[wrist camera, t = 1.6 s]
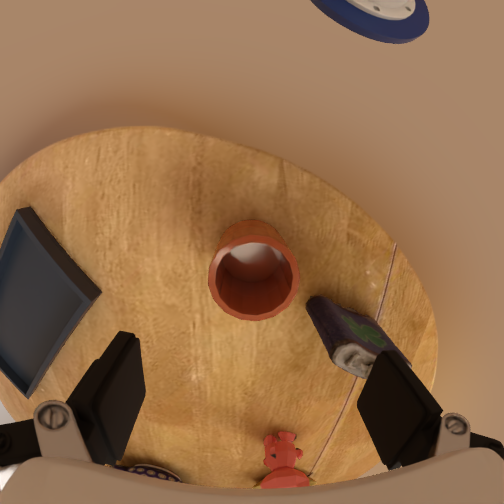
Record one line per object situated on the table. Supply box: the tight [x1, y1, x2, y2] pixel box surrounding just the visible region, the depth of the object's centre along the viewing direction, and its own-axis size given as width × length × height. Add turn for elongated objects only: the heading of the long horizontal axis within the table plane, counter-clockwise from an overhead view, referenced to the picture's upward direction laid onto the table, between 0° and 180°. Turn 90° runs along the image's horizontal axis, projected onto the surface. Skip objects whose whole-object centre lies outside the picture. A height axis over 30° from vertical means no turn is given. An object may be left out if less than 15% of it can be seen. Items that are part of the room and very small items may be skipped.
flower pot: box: [208, 220, 300, 321], centre depth 22 cm, size 6×6×7 cm
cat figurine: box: [260, 431, 313, 489], centre depth 27 cm, size 7×7×12 cm
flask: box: [306, 295, 412, 379], centre depth 22 cm, size 9×3×11 cm, turn 63°
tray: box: [0, 207, 102, 399], centre depth 26 cm, size 30×14×3 cm, turn 133°
